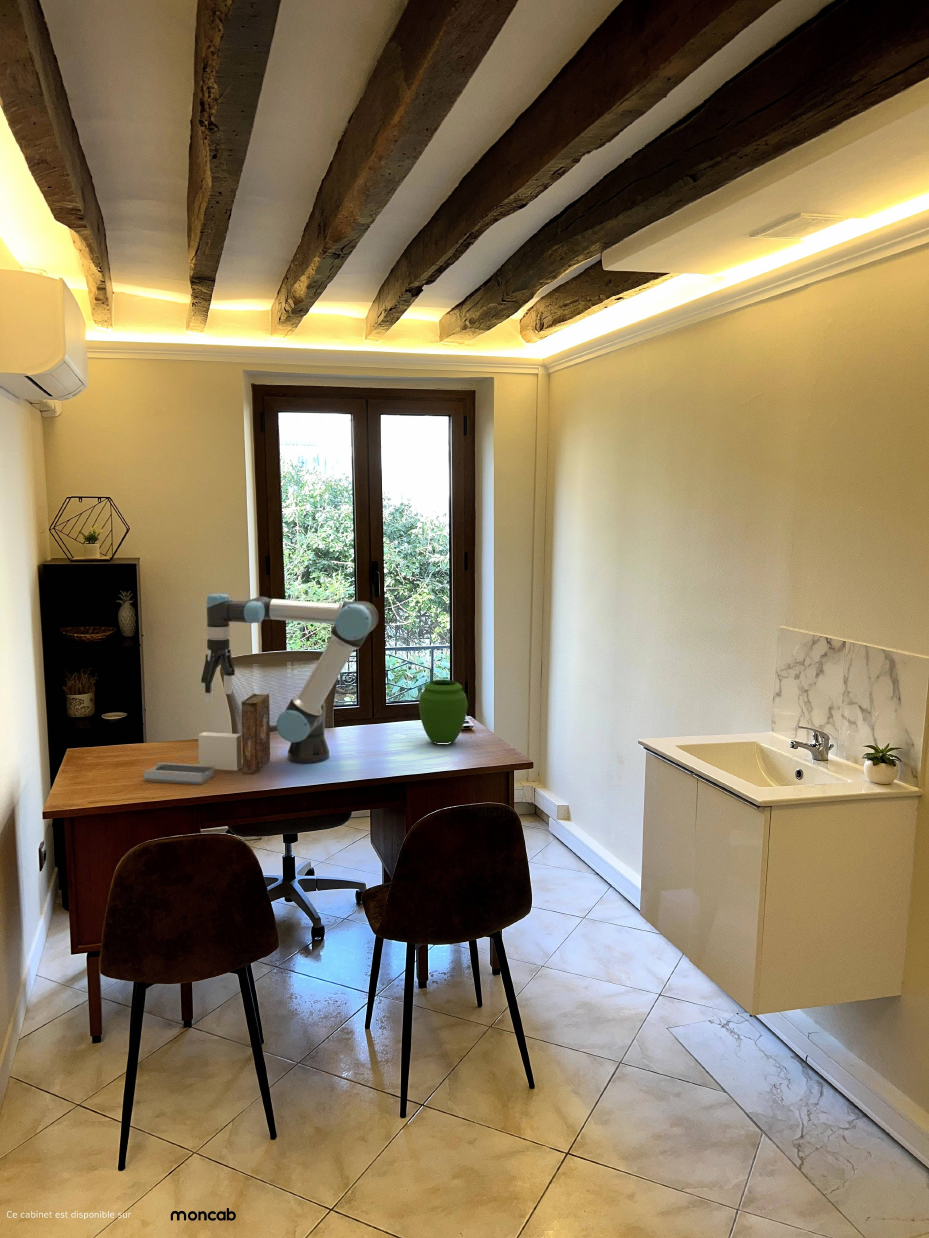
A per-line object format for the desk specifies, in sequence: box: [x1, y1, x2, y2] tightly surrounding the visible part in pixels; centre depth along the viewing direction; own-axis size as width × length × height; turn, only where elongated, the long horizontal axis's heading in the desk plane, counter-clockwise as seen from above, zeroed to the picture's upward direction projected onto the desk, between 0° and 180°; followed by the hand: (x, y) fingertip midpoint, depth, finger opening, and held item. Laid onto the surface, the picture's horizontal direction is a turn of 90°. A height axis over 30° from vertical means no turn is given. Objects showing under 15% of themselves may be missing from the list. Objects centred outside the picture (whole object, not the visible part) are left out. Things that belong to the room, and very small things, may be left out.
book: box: [241, 692, 271, 775], centre depth 287 cm, size 16×6×25 cm, turn 178°
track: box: [143, 762, 215, 786], centre depth 275 cm, size 20×10×4 cm, turn 81°
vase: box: [418, 679, 469, 743], centre depth 323 cm, size 20×20×24 cm
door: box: [197, 731, 243, 772], centre depth 287 cm, size 14×4×12 cm, turn 81°
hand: (218, 697), depth 288 cm, fingers open, 13 cm apart
